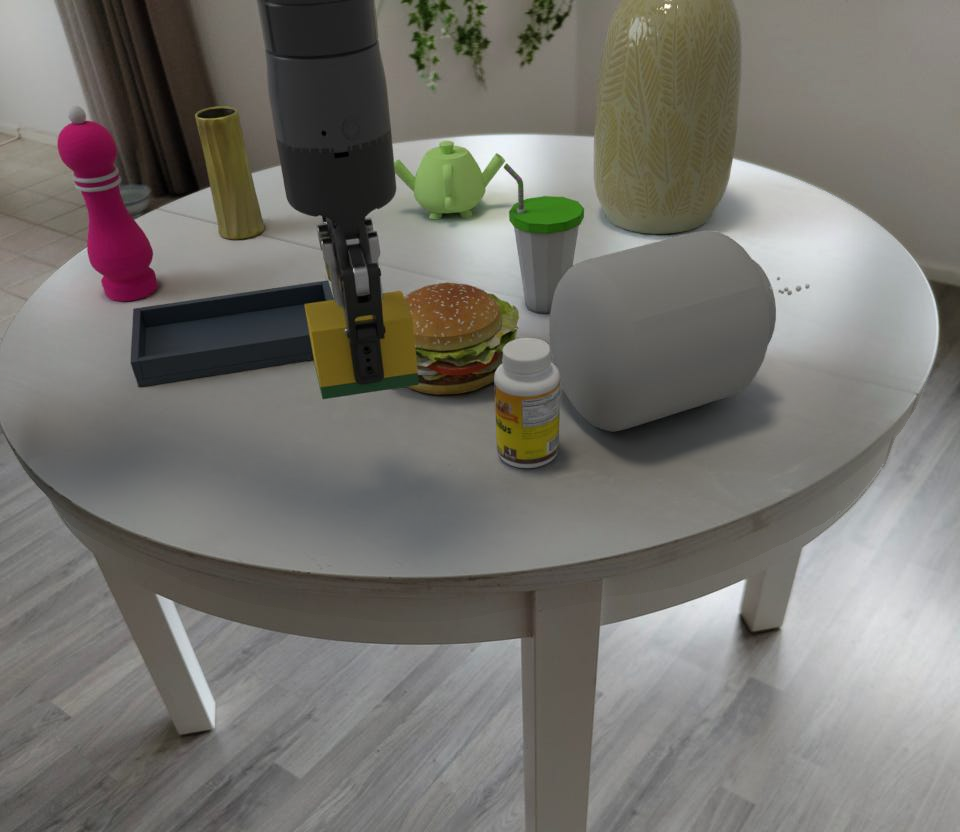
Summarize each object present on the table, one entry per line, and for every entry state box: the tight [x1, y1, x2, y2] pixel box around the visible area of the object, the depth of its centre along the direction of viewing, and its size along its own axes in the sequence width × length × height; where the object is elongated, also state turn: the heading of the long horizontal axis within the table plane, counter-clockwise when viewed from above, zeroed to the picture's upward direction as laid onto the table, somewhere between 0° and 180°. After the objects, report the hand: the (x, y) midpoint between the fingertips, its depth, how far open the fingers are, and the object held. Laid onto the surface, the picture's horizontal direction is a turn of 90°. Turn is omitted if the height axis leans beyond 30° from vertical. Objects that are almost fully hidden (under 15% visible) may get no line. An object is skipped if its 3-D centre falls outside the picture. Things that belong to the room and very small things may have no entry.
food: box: [404, 282, 520, 396], centre depth 93 cm, size 14×14×8 cm
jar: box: [548, 230, 811, 432], centre depth 85 cm, size 19×15×25 cm
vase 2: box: [593, 0, 743, 235], centre depth 112 cm, size 17×17×27 cm
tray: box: [130, 279, 334, 388], centre depth 101 cm, size 22×13×3 cm, turn 104°
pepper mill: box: [56, 105, 159, 302], centre depth 106 cm, size 7×7×20 cm
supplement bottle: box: [493, 337, 561, 469], centre depth 81 cm, size 6×6×10 cm
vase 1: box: [194, 105, 266, 240], centre depth 119 cm, size 6×6×14 cm
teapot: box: [394, 140, 506, 220], centre depth 123 cm, size 11×12×8 cm
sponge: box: [305, 290, 419, 400], centre depth 72 cm, size 8×5×6 cm, turn 103°
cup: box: [503, 162, 585, 315], centre depth 100 cm, size 8×8×15 cm
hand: (364, 363), depth 73 cm, fingers closed on sponge, 4 cm apart
